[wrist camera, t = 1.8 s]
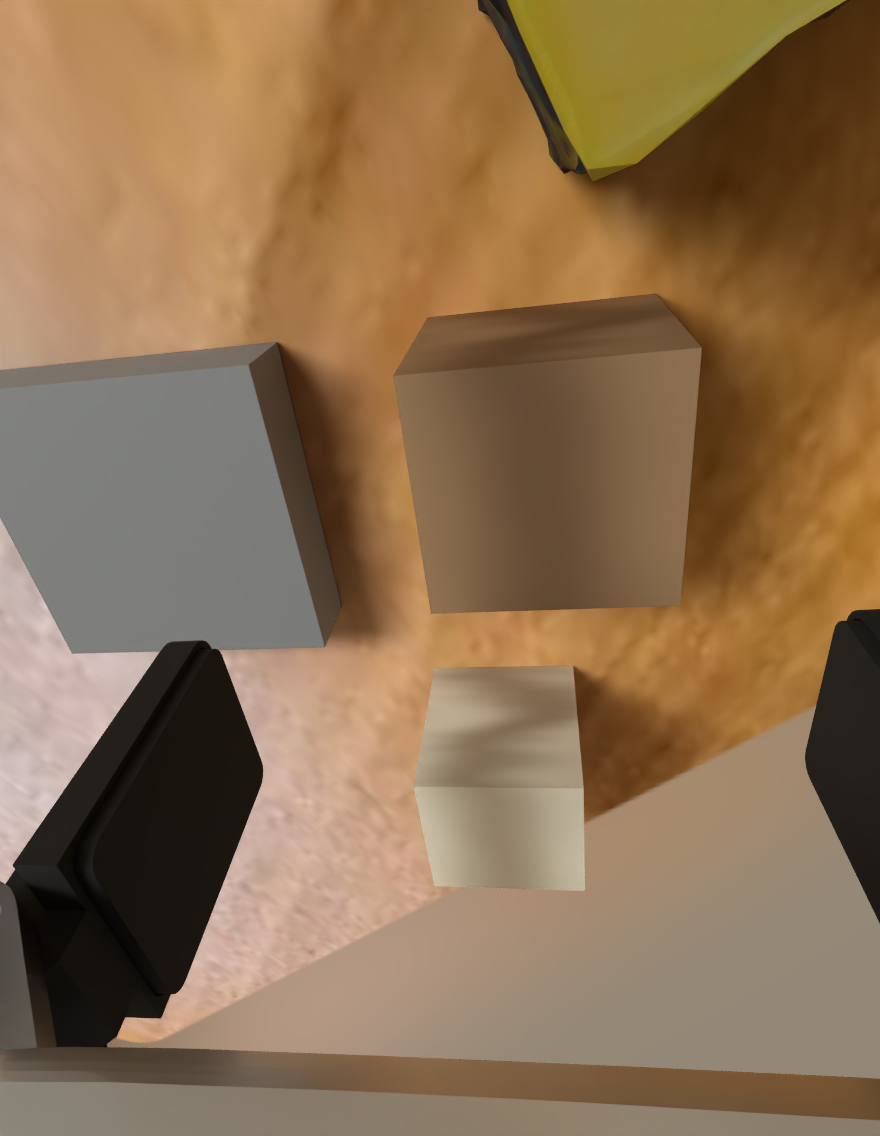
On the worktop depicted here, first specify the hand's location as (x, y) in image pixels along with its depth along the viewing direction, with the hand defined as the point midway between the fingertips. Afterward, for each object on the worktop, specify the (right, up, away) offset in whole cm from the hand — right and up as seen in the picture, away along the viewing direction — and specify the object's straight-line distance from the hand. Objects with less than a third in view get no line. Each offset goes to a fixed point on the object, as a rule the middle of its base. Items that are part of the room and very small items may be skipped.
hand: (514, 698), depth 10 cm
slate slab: (-11, +5, +13) cm, 18 cm away
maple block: (+2, -4, +18) cm, 18 cm away
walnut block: (+2, +7, +10) cm, 13 cm away
